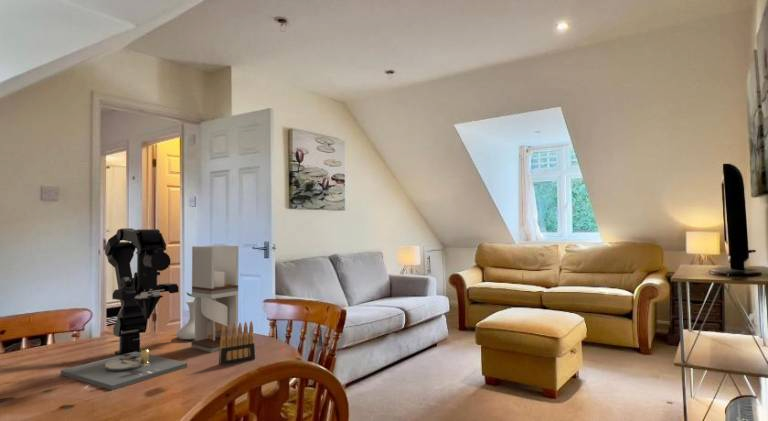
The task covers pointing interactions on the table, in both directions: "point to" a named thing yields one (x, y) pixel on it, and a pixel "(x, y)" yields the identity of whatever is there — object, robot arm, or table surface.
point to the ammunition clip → (236, 345)
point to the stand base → (122, 372)
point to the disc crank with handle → (128, 361)
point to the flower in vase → (189, 328)
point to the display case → (214, 293)
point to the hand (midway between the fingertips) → (146, 318)
